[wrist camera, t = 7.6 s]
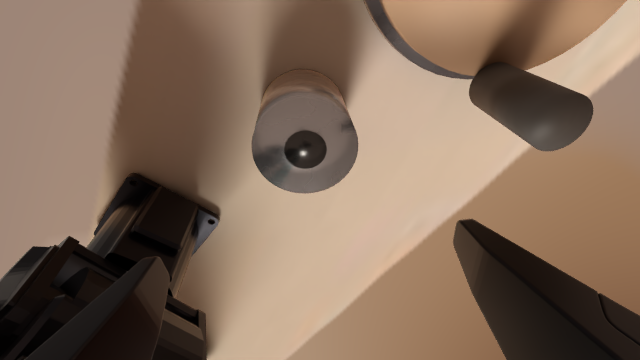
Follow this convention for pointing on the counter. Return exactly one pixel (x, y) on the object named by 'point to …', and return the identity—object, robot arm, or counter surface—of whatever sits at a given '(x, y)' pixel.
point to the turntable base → (400, 45)
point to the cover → (304, 133)
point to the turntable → (508, 56)
